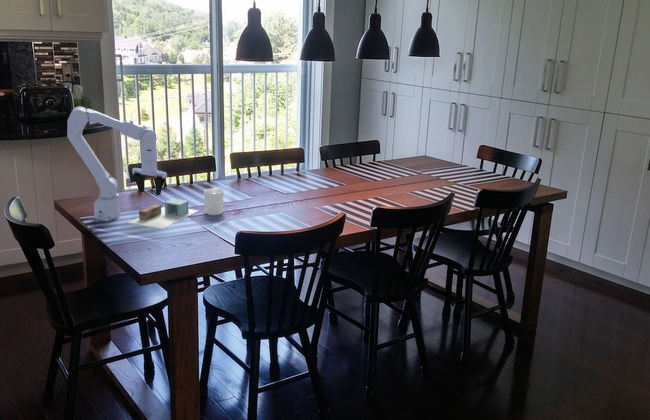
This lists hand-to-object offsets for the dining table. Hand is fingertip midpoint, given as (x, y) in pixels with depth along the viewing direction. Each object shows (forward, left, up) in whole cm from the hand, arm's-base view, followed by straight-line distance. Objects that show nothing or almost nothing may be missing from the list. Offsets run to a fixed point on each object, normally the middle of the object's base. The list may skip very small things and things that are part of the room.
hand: (150, 193), depth 238 cm
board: (+1, -6, -10) cm, 11 cm away
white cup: (+15, -20, -10) cm, 27 cm away
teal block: (+6, -8, -9) cm, 13 cm away
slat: (-2, -2, -9) cm, 9 cm away
